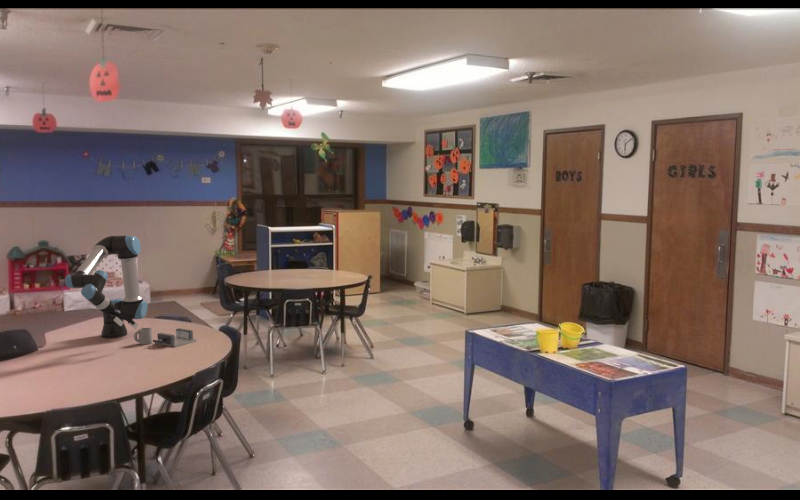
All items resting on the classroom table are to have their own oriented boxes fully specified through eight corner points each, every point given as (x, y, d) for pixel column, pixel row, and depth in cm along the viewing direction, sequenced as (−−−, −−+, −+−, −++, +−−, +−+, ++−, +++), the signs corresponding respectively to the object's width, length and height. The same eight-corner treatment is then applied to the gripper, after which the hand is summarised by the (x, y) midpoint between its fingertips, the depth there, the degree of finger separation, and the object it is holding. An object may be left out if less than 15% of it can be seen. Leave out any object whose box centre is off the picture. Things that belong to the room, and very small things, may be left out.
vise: (146, 345, 378) (146, 335, 378) (176, 337, 397) (176, 327, 396) (167, 349, 369) (166, 338, 368) (196, 341, 388) (196, 330, 387)
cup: (151, 344, 381) (150, 329, 380) (133, 345, 378) (133, 331, 377) (152, 341, 388) (151, 327, 387) (135, 343, 385) (134, 328, 384)
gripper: (87, 308, 364) (112, 328, 378) (114, 312, 351) (139, 333, 366) (95, 297, 368) (119, 318, 382) (122, 301, 355) (146, 322, 370)
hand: (129, 325), depth 374 cm, fingers open, 13 cm apart
